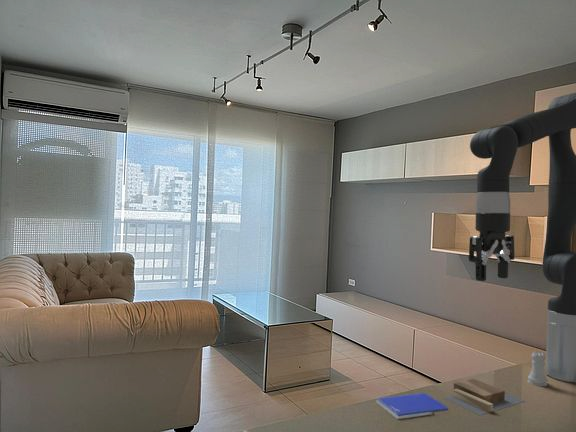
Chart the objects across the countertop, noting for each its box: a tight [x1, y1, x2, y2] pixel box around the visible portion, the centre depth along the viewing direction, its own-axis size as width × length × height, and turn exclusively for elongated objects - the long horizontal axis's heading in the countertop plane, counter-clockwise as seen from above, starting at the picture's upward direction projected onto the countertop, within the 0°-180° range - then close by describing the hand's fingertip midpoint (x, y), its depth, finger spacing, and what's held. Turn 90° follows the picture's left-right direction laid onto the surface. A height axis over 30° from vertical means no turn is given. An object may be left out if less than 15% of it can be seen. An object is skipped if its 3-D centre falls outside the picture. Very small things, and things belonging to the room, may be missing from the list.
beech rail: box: [452, 388, 494, 413], centre depth 95 cm, size 1×9×2 cm, turn 30°
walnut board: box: [453, 378, 506, 403], centre depth 99 cm, size 2×8×7 cm
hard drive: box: [375, 392, 449, 420], centre depth 93 cm, size 2×8×12 cm
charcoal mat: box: [444, 392, 526, 416], centre depth 97 cm, size 16×9×1 cm, turn 120°
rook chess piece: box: [527, 350, 548, 387], centre depth 109 cm, size 4×4×8 cm
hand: (492, 279), depth 104 cm, fingers open, 8 cm apart
